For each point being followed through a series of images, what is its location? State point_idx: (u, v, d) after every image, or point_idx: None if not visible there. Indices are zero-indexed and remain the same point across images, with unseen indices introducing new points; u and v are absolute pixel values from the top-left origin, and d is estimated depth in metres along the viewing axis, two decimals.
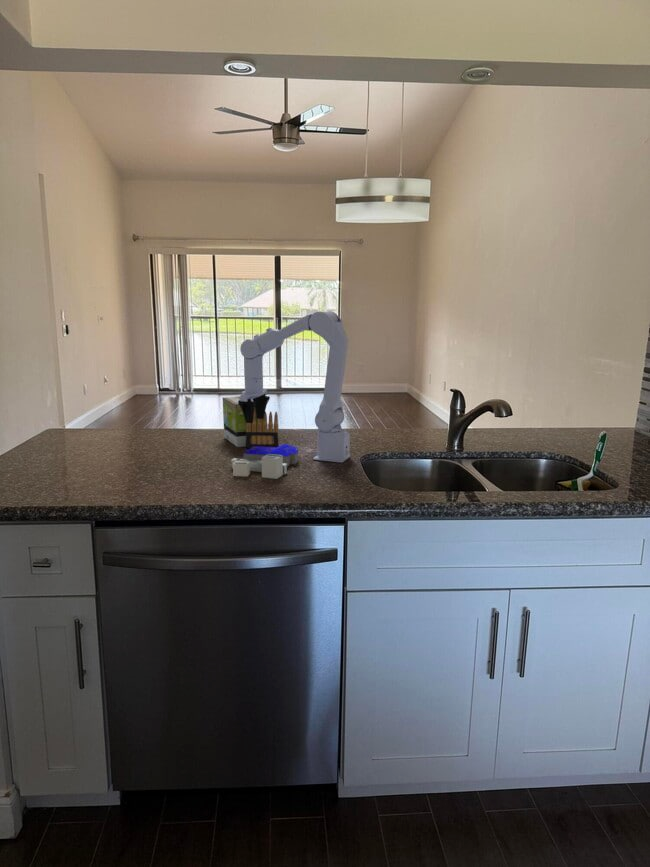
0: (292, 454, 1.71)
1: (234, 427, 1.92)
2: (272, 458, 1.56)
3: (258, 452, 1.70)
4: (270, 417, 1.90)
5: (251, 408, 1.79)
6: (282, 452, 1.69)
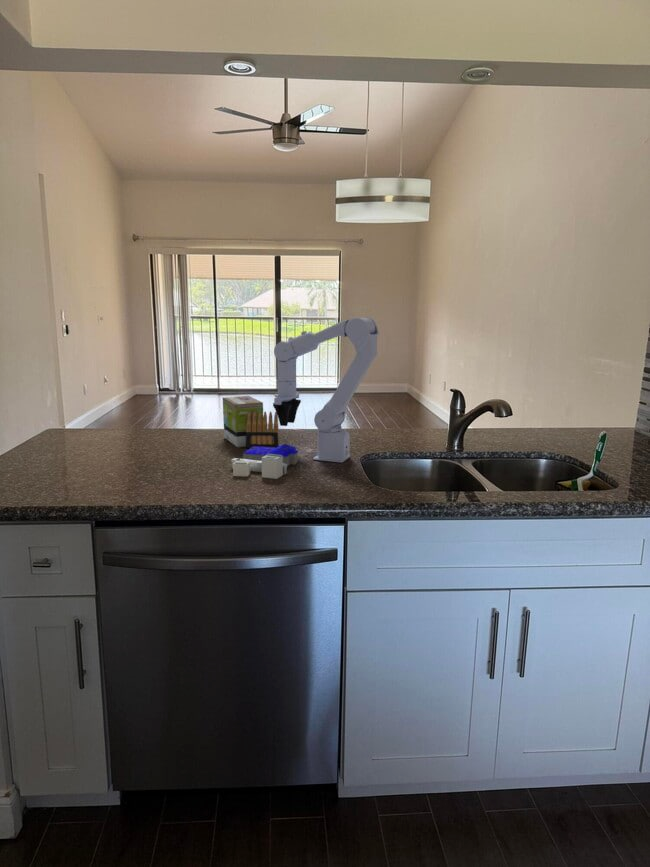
0: (292, 455, 1.71)
1: (234, 427, 1.92)
2: (272, 458, 1.56)
3: (258, 452, 1.70)
4: (270, 417, 1.90)
5: (286, 411, 1.77)
6: (282, 452, 1.69)
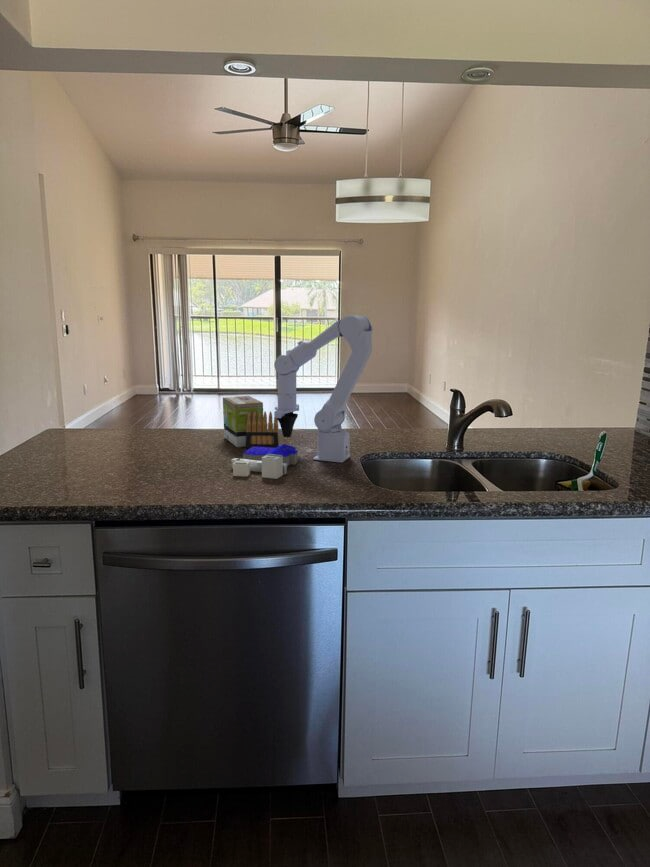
0: (292, 455, 1.71)
1: (234, 427, 1.92)
2: (272, 458, 1.56)
3: (257, 452, 1.70)
4: (270, 417, 1.90)
5: (289, 422, 1.80)
6: (281, 452, 1.69)
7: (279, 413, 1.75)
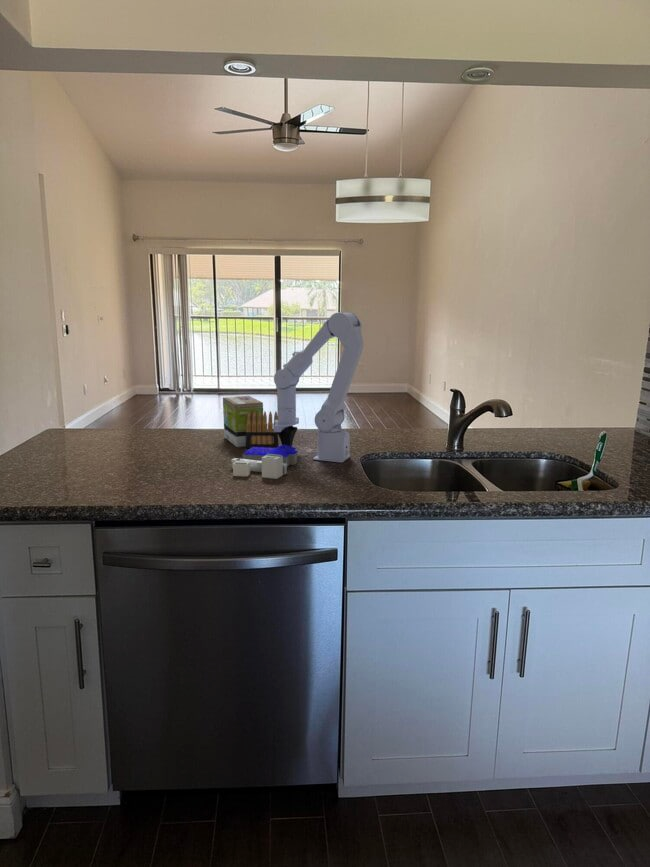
0: (291, 455, 1.71)
1: (234, 427, 1.92)
2: (272, 458, 1.56)
3: (257, 453, 1.69)
4: (270, 417, 1.90)
5: (289, 436, 1.80)
6: (281, 453, 1.68)
7: (279, 427, 1.75)
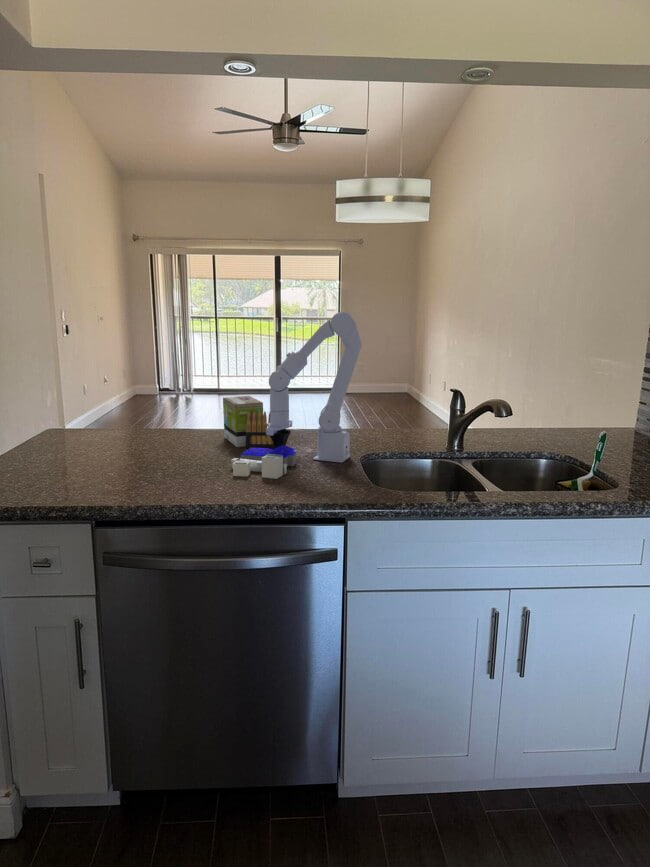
0: (290, 456, 1.69)
1: (234, 427, 1.92)
2: (272, 458, 1.56)
3: (255, 453, 1.68)
4: None
5: (282, 439, 1.76)
6: (279, 453, 1.67)
7: (271, 430, 1.70)
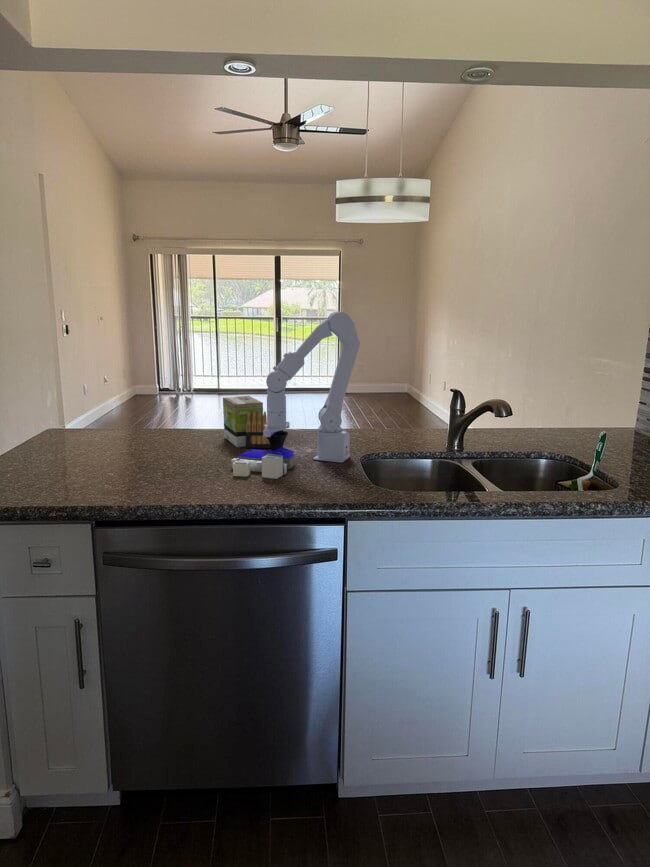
0: (287, 459, 1.67)
1: (233, 427, 1.92)
2: (272, 458, 1.56)
3: (252, 455, 1.66)
4: None
5: (279, 441, 1.74)
6: None
7: (268, 432, 1.68)
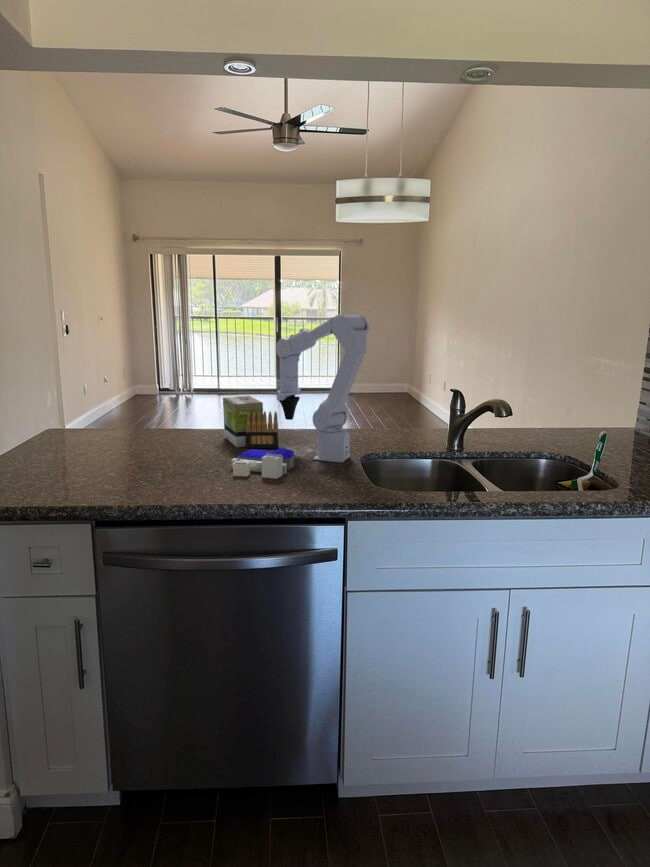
0: (287, 459, 1.66)
1: (233, 427, 1.92)
2: (272, 458, 1.56)
3: (252, 455, 1.66)
4: (270, 417, 1.90)
5: (291, 405, 1.84)
6: None
7: (281, 395, 1.79)
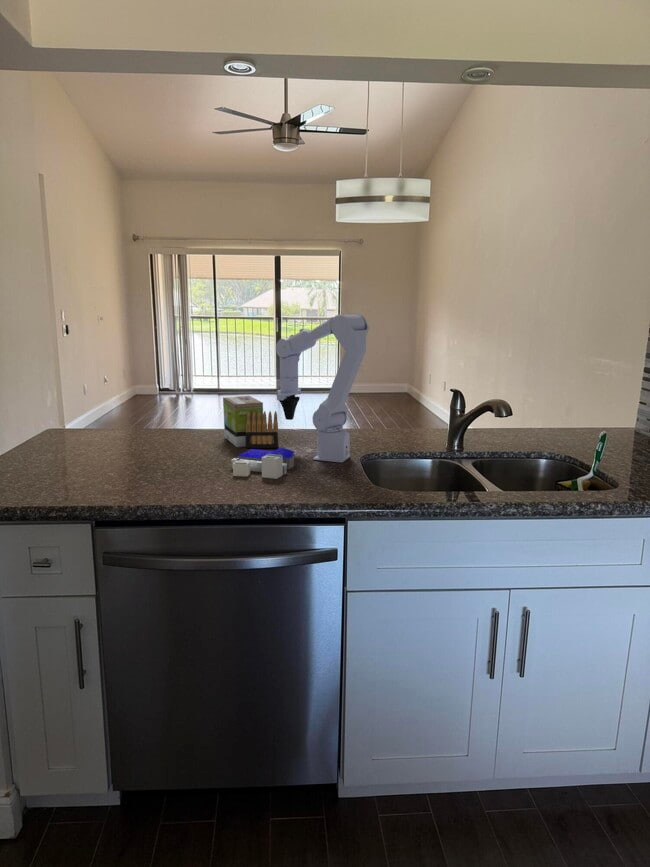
0: (287, 459, 1.66)
1: (233, 427, 1.92)
2: (272, 458, 1.56)
3: (252, 455, 1.66)
4: (270, 417, 1.90)
5: (291, 405, 1.84)
6: None
7: (281, 395, 1.79)
